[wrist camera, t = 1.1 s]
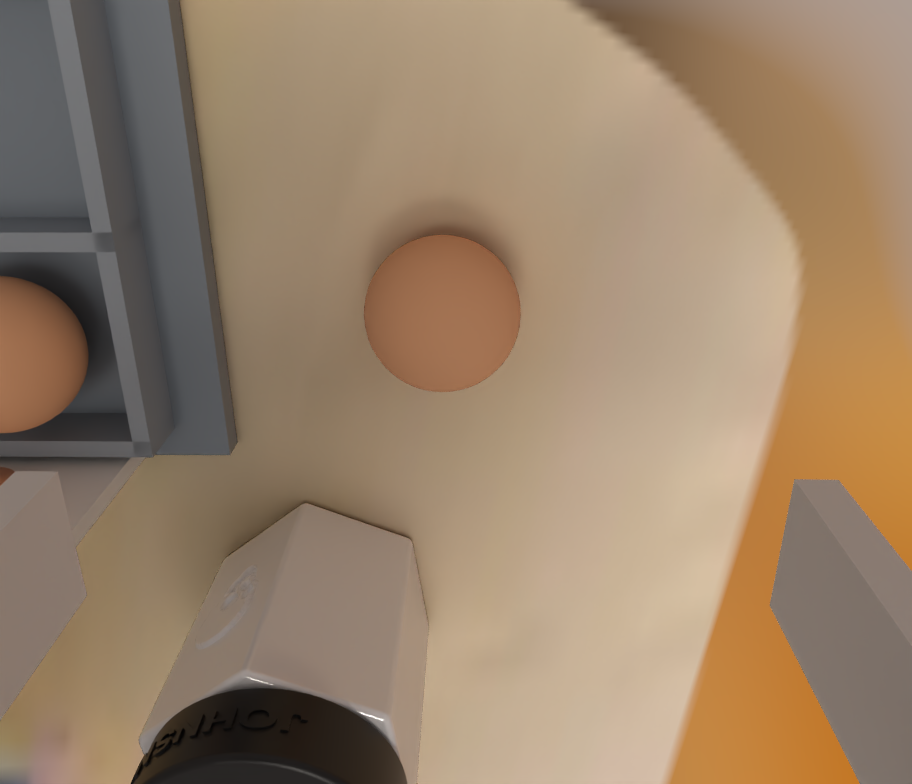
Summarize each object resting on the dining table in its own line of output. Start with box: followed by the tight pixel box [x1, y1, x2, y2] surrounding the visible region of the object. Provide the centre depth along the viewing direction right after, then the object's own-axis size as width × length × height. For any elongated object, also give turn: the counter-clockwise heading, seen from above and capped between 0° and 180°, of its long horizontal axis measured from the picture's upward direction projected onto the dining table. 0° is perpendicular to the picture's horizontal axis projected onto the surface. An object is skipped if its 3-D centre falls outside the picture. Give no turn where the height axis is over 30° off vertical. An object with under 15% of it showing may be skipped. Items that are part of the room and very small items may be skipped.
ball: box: [364, 235, 521, 392], centre depth 26 cm, size 5×5×5 cm
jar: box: [131, 503, 429, 784], centre depth 28 cm, size 9×8×12 cm
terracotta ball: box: [0, 276, 89, 433], centre depth 26 cm, size 5×5×5 cm
